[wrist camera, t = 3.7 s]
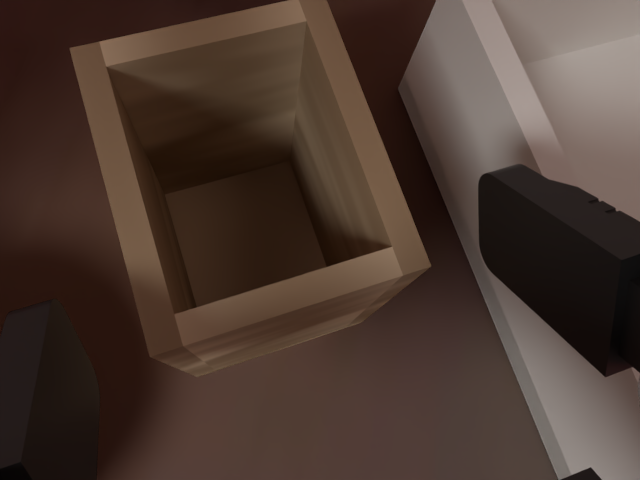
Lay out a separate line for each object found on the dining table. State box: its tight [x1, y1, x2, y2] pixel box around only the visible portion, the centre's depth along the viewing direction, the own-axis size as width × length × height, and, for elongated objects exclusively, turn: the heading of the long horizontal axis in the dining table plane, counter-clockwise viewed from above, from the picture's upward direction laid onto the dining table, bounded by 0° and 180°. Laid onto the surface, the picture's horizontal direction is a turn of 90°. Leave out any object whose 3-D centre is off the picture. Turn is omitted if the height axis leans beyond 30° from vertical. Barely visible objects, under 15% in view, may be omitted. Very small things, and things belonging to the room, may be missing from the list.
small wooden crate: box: [69, 0, 431, 377], centre depth 15 cm, size 6×6×8 cm
